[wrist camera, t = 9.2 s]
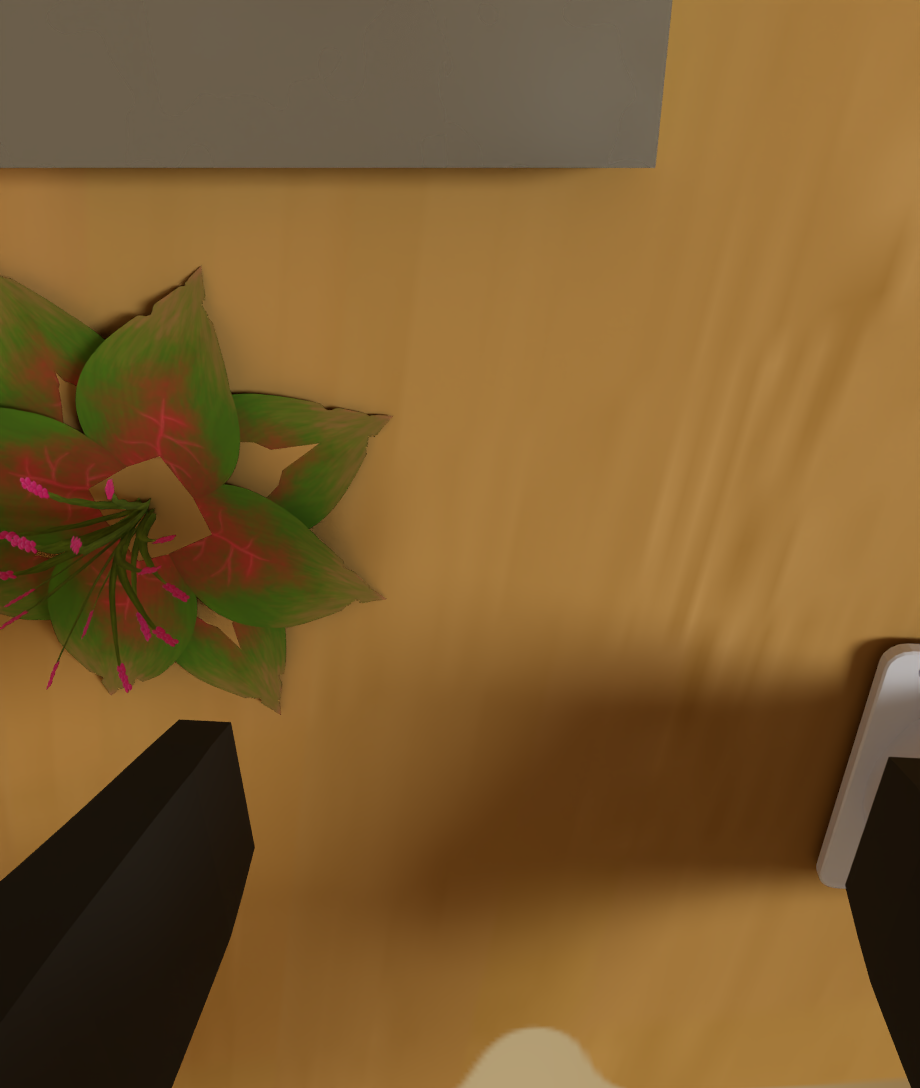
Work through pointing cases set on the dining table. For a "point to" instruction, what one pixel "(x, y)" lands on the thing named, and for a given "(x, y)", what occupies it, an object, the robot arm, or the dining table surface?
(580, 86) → the gray square-hole plate
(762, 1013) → the dining table surface
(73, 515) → the lily flower
